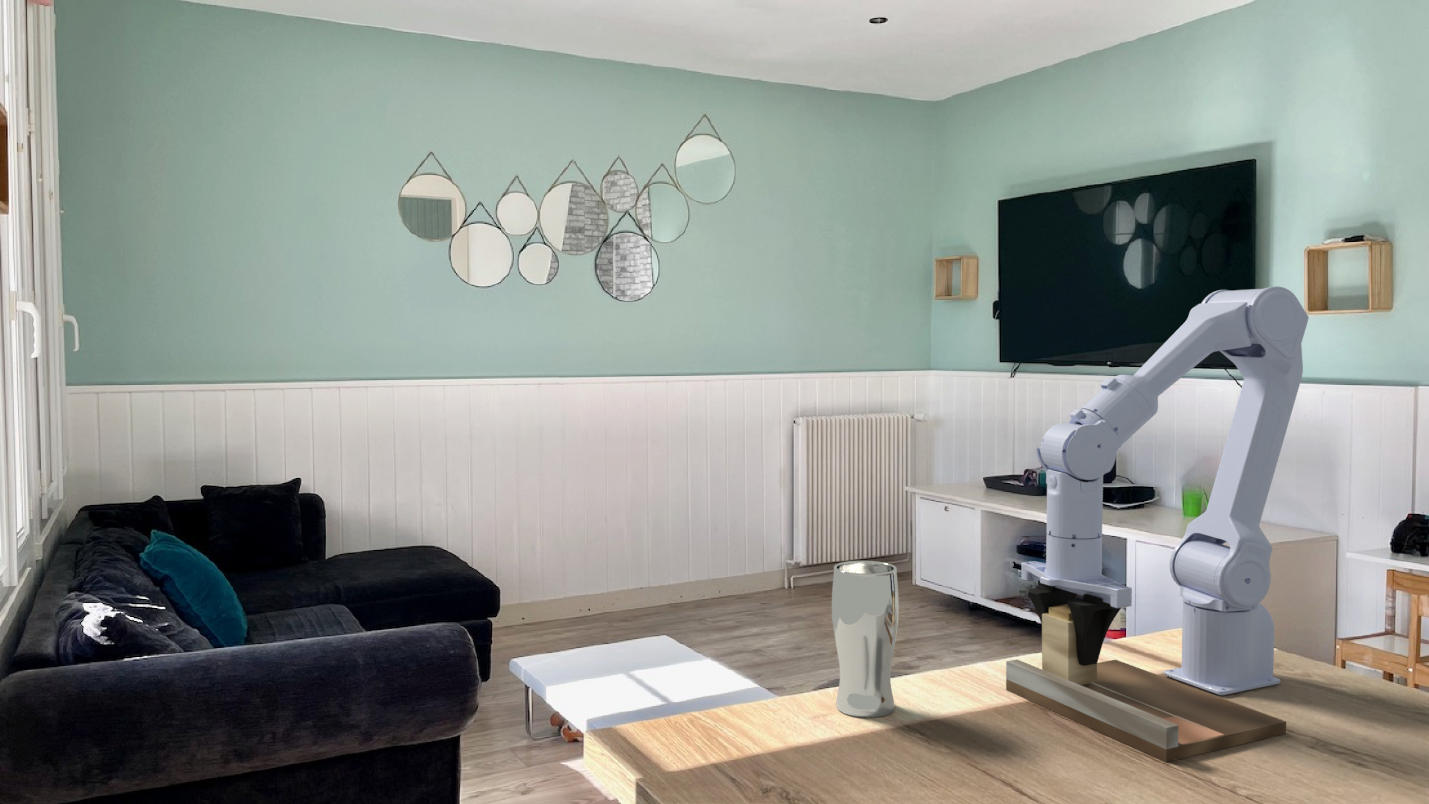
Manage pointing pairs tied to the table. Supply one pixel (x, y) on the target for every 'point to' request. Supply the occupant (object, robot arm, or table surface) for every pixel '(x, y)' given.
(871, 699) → the beer glass
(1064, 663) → the tan block
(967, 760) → the table surface
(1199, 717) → the board
